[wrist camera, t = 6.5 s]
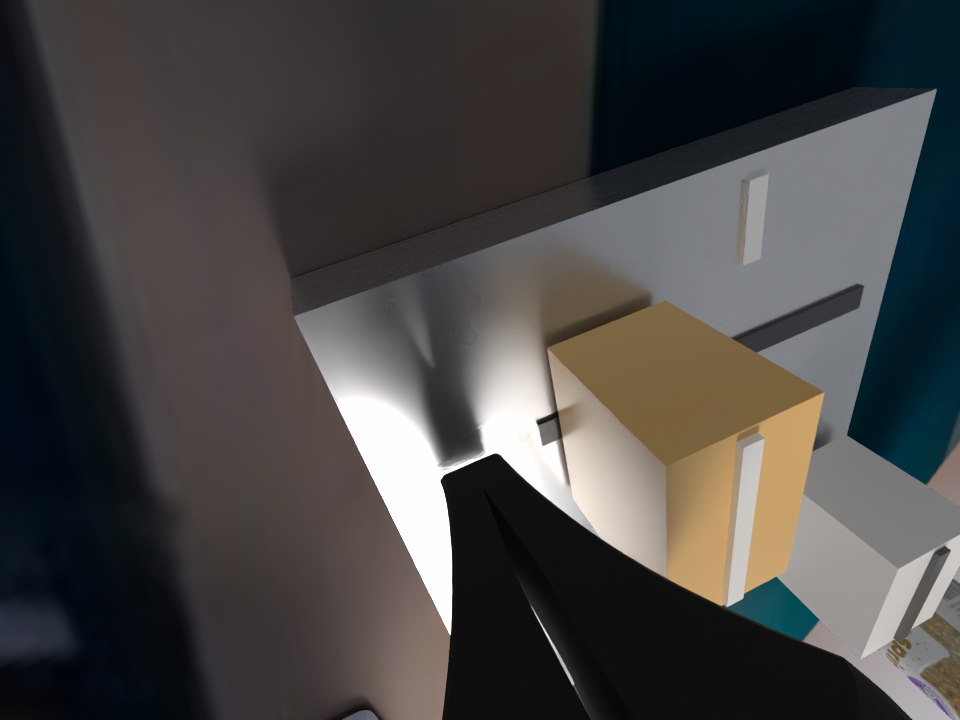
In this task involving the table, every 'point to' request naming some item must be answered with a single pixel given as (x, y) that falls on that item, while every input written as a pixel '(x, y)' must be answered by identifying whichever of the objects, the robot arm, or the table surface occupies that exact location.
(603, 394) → the fader knob orange
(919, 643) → the sprinkles bottle
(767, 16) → the table surface
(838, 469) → the fader knob white
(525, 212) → the fader panel
